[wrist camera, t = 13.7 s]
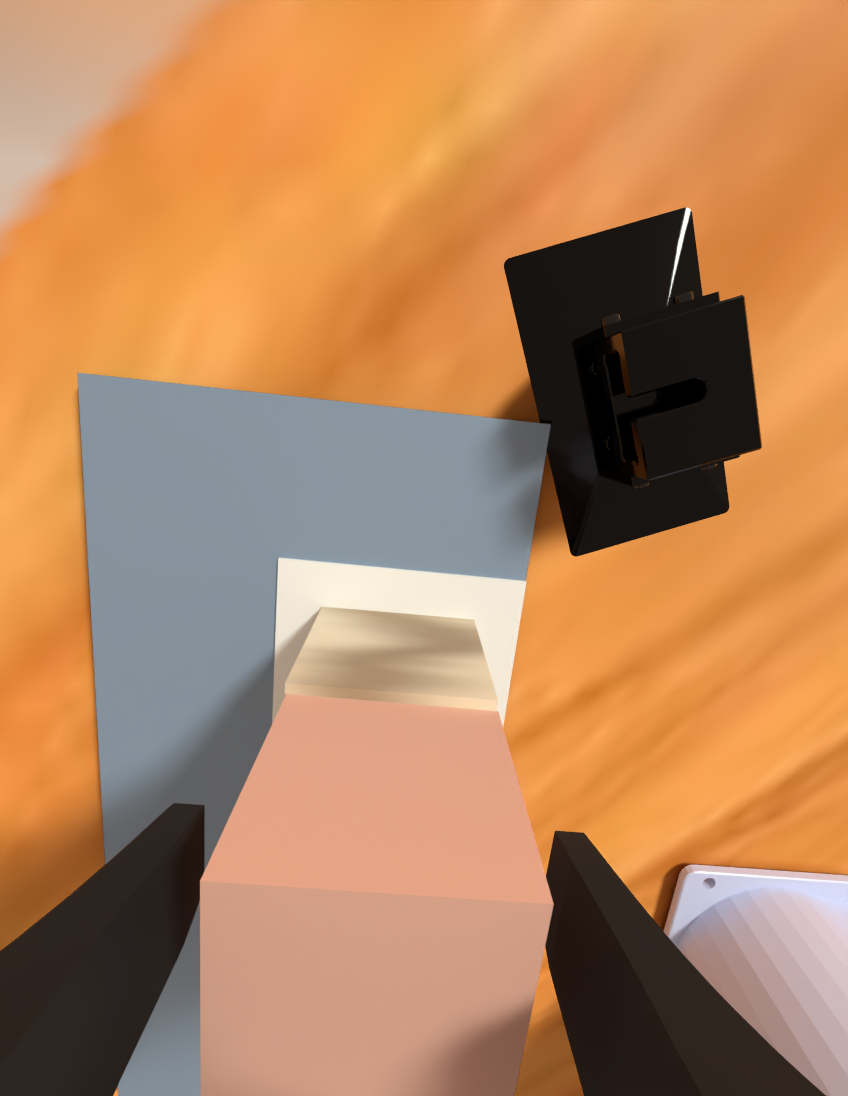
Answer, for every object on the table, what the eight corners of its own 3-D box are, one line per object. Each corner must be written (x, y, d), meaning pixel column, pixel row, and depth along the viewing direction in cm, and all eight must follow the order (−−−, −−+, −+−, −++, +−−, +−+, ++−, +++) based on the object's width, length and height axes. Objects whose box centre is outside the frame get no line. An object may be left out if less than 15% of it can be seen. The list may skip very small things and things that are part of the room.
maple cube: (473, 619, 17) (498, 700, 12) (456, 751, 18) (472, 872, 13) (322, 606, 17) (284, 683, 12) (315, 740, 18) (278, 860, 13)
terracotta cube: (498, 711, 12) (553, 903, 7) (471, 881, 13) (504, 1143, 9) (286, 693, 12) (199, 880, 7) (278, 868, 13) (200, 1128, 8)
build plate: (465, 222, 15) (486, 142, 11) (708, 146, 15) (832, 32, 10) (553, 601, 18) (598, 660, 14) (757, 546, 18) (870, 588, 14)
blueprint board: (545, 424, 16) (551, 424, 15) (439, 1097, 23) (440, 1117, 23) (90, 374, 16) (75, 372, 15) (126, 1082, 23) (117, 1102, 22)
